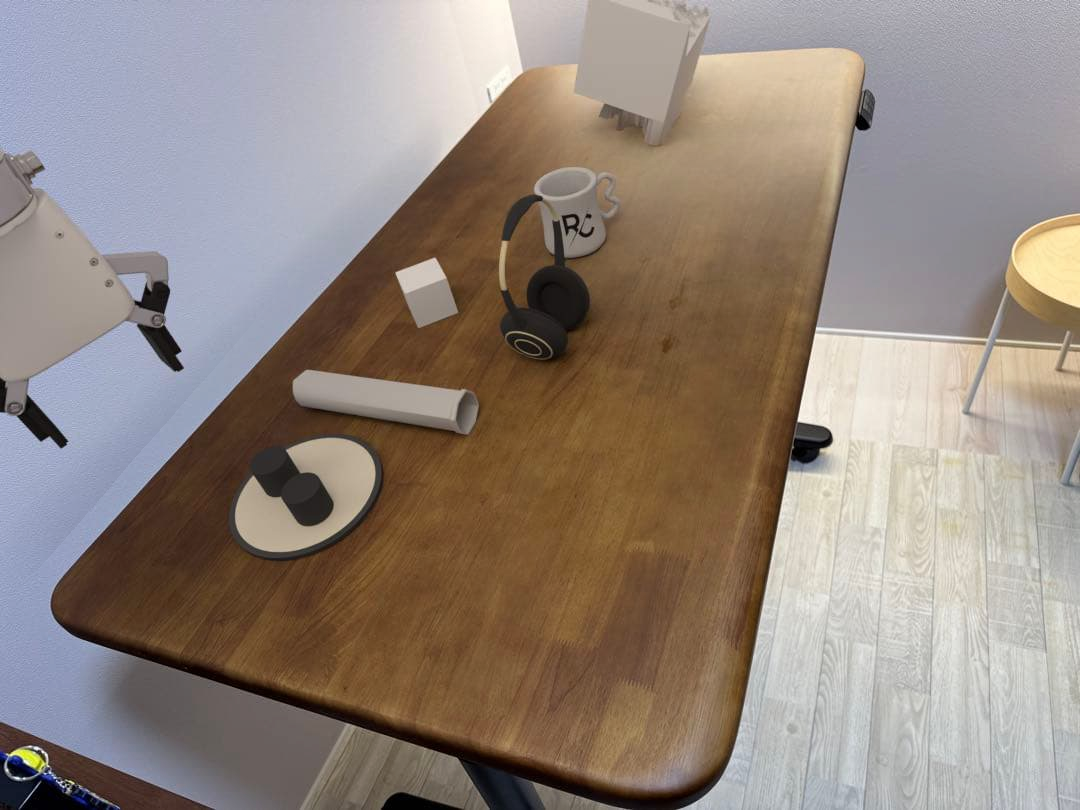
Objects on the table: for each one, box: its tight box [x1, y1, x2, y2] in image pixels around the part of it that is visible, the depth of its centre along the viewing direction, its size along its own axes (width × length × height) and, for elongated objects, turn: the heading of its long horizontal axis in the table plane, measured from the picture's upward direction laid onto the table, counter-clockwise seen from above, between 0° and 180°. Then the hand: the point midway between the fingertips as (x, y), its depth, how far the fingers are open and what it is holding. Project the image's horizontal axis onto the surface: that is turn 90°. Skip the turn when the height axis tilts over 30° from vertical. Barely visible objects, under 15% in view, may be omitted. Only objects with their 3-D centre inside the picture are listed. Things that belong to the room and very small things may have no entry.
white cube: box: [395, 257, 459, 329], centre depth 109 cm, size 6×6×6 cm
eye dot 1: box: [248, 445, 300, 497], centre depth 89 cm, size 4×4×4 cm
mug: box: [533, 166, 621, 259], centre depth 112 cm, size 12×9×10 cm
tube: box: [292, 369, 480, 436], centre depth 95 cm, size 5×5×25 cm
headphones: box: [498, 193, 591, 360], centre depth 93 cm, size 9×15×20 cm, turn 154°
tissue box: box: [573, 0, 712, 147], centre depth 129 cm, size 20×16×25 cm
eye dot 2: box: [281, 472, 334, 526], centre depth 85 cm, size 4×4×4 cm
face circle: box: [228, 433, 384, 562], centre depth 89 cm, size 18×18×1 cm
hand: (118, 400), depth 60 cm, fingers open, 9 cm apart
